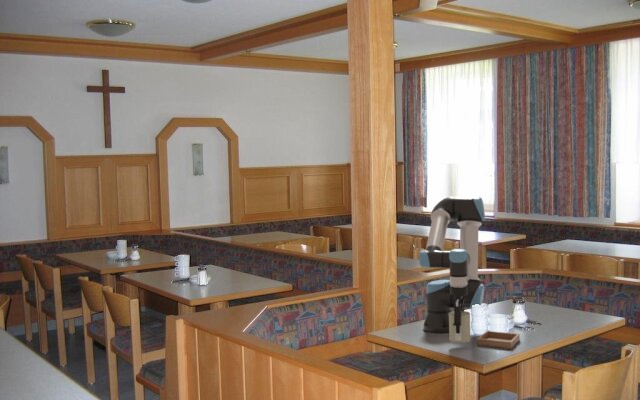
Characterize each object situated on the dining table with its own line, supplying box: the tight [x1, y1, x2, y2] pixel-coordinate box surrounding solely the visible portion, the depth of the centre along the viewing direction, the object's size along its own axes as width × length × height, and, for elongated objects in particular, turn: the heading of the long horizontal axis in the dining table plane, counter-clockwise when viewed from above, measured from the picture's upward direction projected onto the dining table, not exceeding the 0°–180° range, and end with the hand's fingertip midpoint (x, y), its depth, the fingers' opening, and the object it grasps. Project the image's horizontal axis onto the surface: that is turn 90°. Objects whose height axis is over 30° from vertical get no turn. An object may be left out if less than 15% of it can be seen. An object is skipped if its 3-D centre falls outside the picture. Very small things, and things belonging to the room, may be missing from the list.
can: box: [448, 310, 472, 343], centre depth 300 cm, size 9×9×12 cm
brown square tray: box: [476, 330, 521, 350], centre depth 306 cm, size 15×15×3 cm
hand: (459, 337), depth 301 cm, fingers closed on can, 9 cm apart
